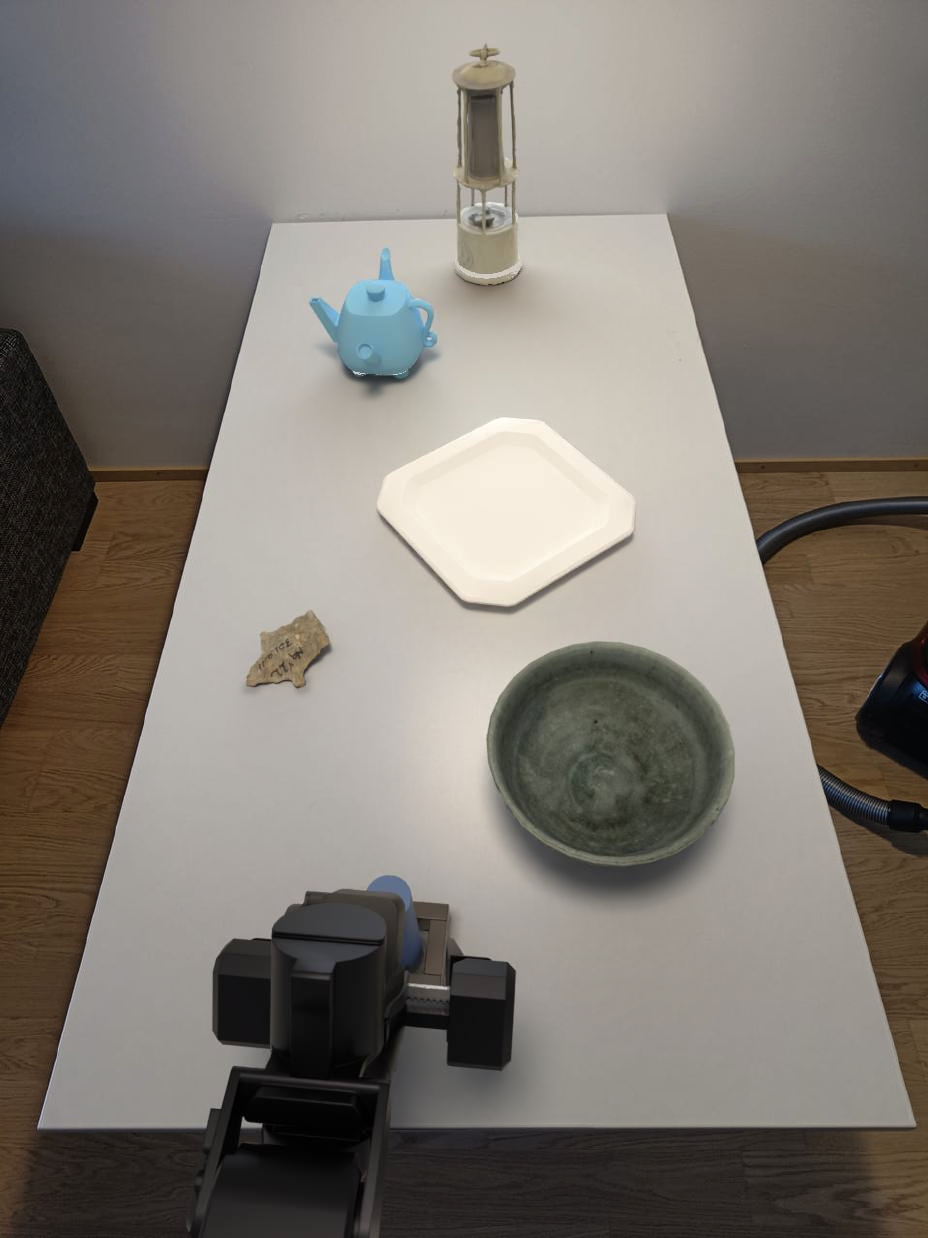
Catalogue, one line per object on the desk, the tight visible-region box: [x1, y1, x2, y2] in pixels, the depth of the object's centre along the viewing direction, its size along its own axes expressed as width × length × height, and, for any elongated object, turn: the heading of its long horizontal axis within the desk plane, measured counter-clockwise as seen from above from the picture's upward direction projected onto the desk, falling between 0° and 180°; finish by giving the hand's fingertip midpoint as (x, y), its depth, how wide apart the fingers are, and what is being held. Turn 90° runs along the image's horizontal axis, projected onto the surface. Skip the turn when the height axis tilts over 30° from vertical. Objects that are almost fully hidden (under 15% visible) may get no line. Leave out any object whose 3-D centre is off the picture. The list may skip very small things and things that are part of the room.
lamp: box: [451, 42, 524, 286], centre depth 124 cm, size 10×13×30 cm
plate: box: [375, 416, 637, 608], centre depth 103 cm, size 25×25×2 cm
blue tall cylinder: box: [365, 874, 424, 973], centre depth 68 cm, size 3×3×14 cm
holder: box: [409, 900, 451, 986], centre depth 72 cm, size 7×7×3 cm
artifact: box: [245, 609, 331, 688], centre depth 91 cm, size 7×3×10 cm
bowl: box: [485, 640, 736, 868], centre depth 78 cm, size 21×21×10 cm
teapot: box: [308, 247, 438, 380], centre depth 118 cm, size 15×14×11 cm
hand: (387, 938), depth 63 cm, fingers open, 9 cm apart
